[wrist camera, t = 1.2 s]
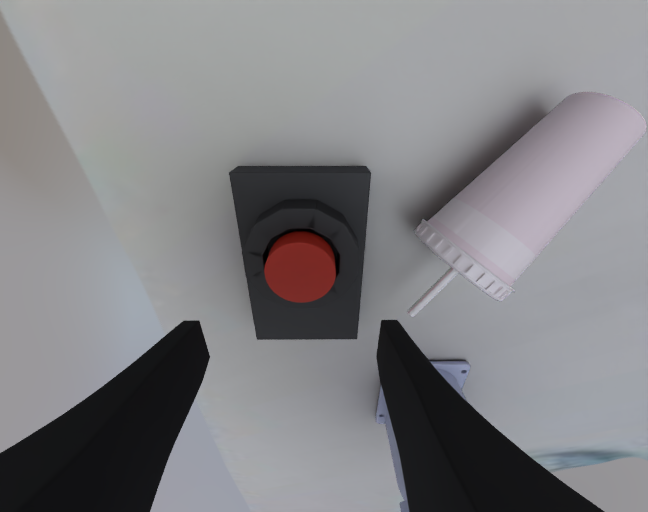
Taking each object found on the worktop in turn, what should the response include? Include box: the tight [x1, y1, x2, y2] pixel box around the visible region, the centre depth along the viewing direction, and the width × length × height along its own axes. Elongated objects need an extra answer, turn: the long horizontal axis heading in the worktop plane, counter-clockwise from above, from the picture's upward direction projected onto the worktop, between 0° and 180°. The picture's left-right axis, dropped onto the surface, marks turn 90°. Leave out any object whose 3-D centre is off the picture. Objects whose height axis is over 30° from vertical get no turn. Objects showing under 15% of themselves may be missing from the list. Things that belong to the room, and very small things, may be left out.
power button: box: [264, 231, 336, 303], centre depth 16 cm, size 4×4×2 cm
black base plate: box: [229, 166, 371, 339], centre depth 18 cm, size 13×8×4 cm, turn 0°
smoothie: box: [407, 92, 647, 317], centre depth 15 cm, size 6×6×14 cm
